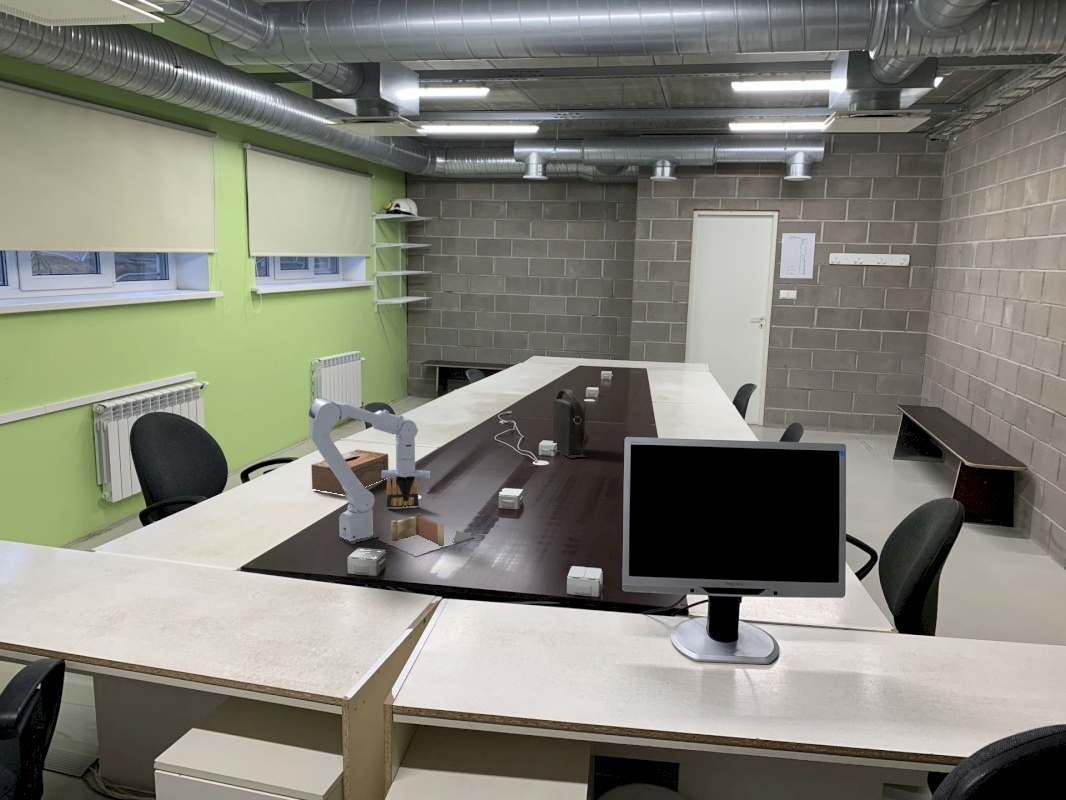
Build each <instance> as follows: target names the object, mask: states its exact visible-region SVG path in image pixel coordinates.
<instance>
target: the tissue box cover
mask: <svg viewBox="0 0 1066 800" xmlns="http://www.w3.org/2000/svg"><path fill="white" fill-rule="evenodd" d="M341 455H342V456H343V458H344V459H345V461H346V462H347V464H348V465H349V467H350V468H351V470H352V471H353V473H354V474H355V476H356V477H357V479H358V480H359V481H360V482H361V484H362V485H363V486H364V487H366V486H369V485H371V484H374V483H376V482H379V481H381V480H384V479H386V478H387V477H385V478H382V476H381V472H382V470H389V453H383V452H376V451H370V450H362V449H355V450H351V451H349V452H345V453H343V454H342V453H341ZM310 469H311V488H312V489H316V490H320V491H327V492H332V493H337V494H343V495H345V491H344V489H343V488H342V484H341V483H340V481H339V480H338V479H337V477H336V476H335V474H334V473H333V471H332V470H331V468H330V467H329V465H328V464H327V462H326V461H325V459H324V460H321V461H319V462H316V463H313V464H311V468H310ZM312 489H311V490H312Z"/></svg>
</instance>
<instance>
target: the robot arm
mask: <svg viewBox="0 0 1066 800" xmlns="http://www.w3.org/2000/svg"><path fill="white" fill-rule="evenodd" d="M307 416H308V423H309V424H308V432H309V433H308V434H309V438H310V440H311V442H312V443H313V445H314V446H315V448H316V449H317V450H318V452H319V454H320V455H321V457H322V458H323V459H324V460H325V461H326V462H327V464H328V465H329V467H330V468H331V470H332V471H333V473H334V474H335V476H336V477H337V479H338V480H339V481H340V483H341V484H342V488H343V489H344V491H345V497H344V498H345V499H346V501H347V502H348V505H347V510H345V511H344V512H342V513H340V514H339V518H338V525H339V528H338V529H339V534H338V535H339V536H340V537H342V538H344V539H347V540H349V541H354V540H356V539H360V538H366V537H370V536H372V535H373V533H374V525H373V520H374V519H373V518H374V515H373V507H374V505H375V501H376V500H375V499H376V498H375V495H374V493H372V491H369V489H367V488H365V487H364V486H363V485H362V484H361V482H360V481H359V480H358V479H357V477H356V476H355V474H354V473H353V471H352V470H351V468H350V467H349V465H348V464H347V462H346V461H345V459H344V458H343V456H342V453H341V451H339V449H338V447H337V446H336V444H335V443H334V441H333V440H332V438H331V437H330V436H331V432H332V429H333V428H334V426H335V425H336V424H337V423H338V421H339V420H340V421H343V420H345V419H348V418H351V419H353V420H358V421H362V422H366V423H369V424H371V426H372V428H373V429H374V430H377V431H380V432H384V433H387V434H390V435H395V469H388V470H382V472H381V476H382V478H385V477H390V478H393V477H396V485H397V486H399V488H400V490H401V493H402V496H403V501H408V500H409V494H410V490H411V487H412V485H413V484H414V480H415V478H417V479H430V477H431V471H430V470H424V469H423V470H422V469H416V451H415V450H416V443H415V442H416V441H415V439H416V436H417V435H418V432H419V428H417V427H418V426H417V424H416V423H415V422H414V421H412V420H410V418H407V417H405V416H403V415H401V414H398V415H396V414H392V413H390V411H389V410H387V409H383V410H381V409H380V410H377V411H375V412H371V411H369V410H366V409H363V408H361V407H358V406H354V405H352V404H349V403H346V402H343V401H338V400H334V399H330V400H328V399H327V398H325V397H319V398H316V399H314V400H313V401H312V402H311V404H310V406H309V409H308V411H307ZM353 537H354V538H353Z"/></svg>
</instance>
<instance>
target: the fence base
mask: <svg viewBox="0 0 1066 800" xmlns="http://www.w3.org/2000/svg"><path fill="white" fill-rule="evenodd" d="M418 517H421V513H420V512H415V513H414V516H411V517H406V518H402V519H400V520H395V519H393V520H391V521H390V524H391V535H392V541H398V540H400V539H404V538H408V537H411V536H415V535H419V529H418Z"/></svg>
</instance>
